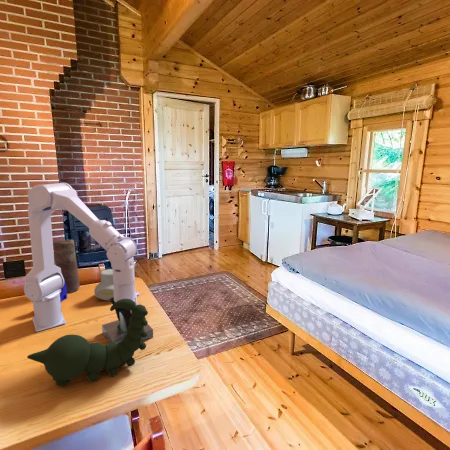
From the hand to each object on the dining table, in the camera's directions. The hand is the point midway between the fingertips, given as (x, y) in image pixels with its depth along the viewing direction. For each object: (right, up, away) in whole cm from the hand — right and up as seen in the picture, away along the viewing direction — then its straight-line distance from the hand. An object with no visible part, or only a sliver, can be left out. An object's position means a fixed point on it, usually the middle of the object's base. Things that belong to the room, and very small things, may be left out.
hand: (127, 325), depth 86 cm
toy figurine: (-2, -7, -15) cm, 17 cm away
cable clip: (-33, +1, +18) cm, 37 cm away
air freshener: (-14, +2, +25) cm, 28 cm away
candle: (-33, +4, +30) cm, 45 cm away
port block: (0, -3, +1) cm, 3 cm away
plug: (0, -3, +1) cm, 3 cm away
